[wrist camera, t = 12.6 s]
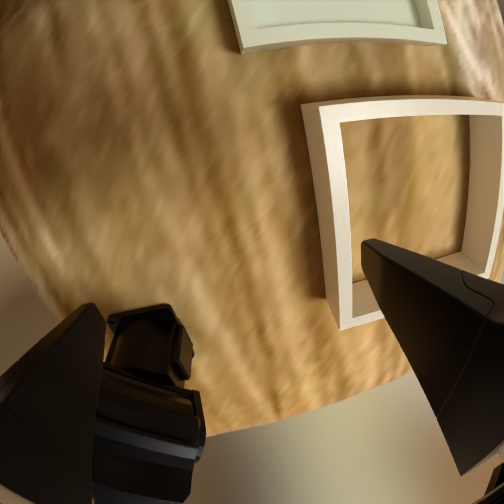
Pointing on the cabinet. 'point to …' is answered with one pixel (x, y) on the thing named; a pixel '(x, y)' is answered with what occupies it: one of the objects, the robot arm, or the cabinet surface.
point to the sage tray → (335, 22)
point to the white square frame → (336, 195)
